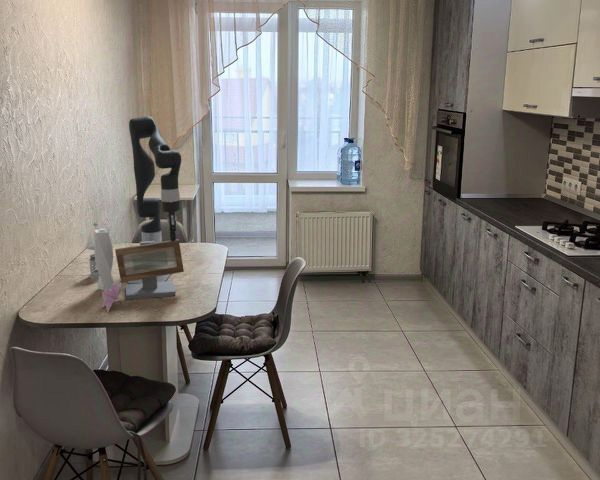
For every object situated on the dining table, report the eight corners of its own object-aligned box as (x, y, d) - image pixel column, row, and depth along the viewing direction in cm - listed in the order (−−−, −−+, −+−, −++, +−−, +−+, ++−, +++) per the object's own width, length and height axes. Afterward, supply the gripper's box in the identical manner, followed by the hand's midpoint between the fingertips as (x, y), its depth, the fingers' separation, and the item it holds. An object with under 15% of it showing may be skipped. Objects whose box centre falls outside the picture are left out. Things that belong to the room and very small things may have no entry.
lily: (104, 304, 260) (92, 287, 254) (131, 291, 261) (120, 275, 256) (107, 322, 251) (95, 305, 245) (134, 309, 252) (123, 292, 246)
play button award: (173, 270, 301) (163, 282, 282) (173, 273, 301) (163, 286, 282) (139, 270, 301) (127, 282, 282) (139, 273, 302) (127, 286, 282)
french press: (86, 274, 298) (82, 222, 292) (112, 271, 303) (108, 219, 298) (90, 279, 290) (85, 225, 284) (116, 276, 295) (112, 223, 289)
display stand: (126, 288, 278) (122, 239, 273) (172, 284, 283) (170, 236, 278) (126, 299, 263) (122, 248, 258) (175, 295, 268) (172, 245, 263)
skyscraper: (119, 288, 277) (115, 225, 271) (106, 292, 271) (101, 228, 265) (107, 285, 282) (102, 223, 275) (93, 289, 276) (88, 226, 269)
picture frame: (121, 281, 267) (115, 249, 263) (183, 270, 273) (178, 238, 269) (121, 282, 265) (115, 250, 262) (183, 271, 271) (178, 240, 267)
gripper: (160, 197, 269) (163, 237, 273) (162, 202, 257) (164, 244, 261) (178, 196, 271) (180, 236, 275) (181, 201, 258) (183, 243, 262)
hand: (173, 240), depth 268 cm, fingers closed
